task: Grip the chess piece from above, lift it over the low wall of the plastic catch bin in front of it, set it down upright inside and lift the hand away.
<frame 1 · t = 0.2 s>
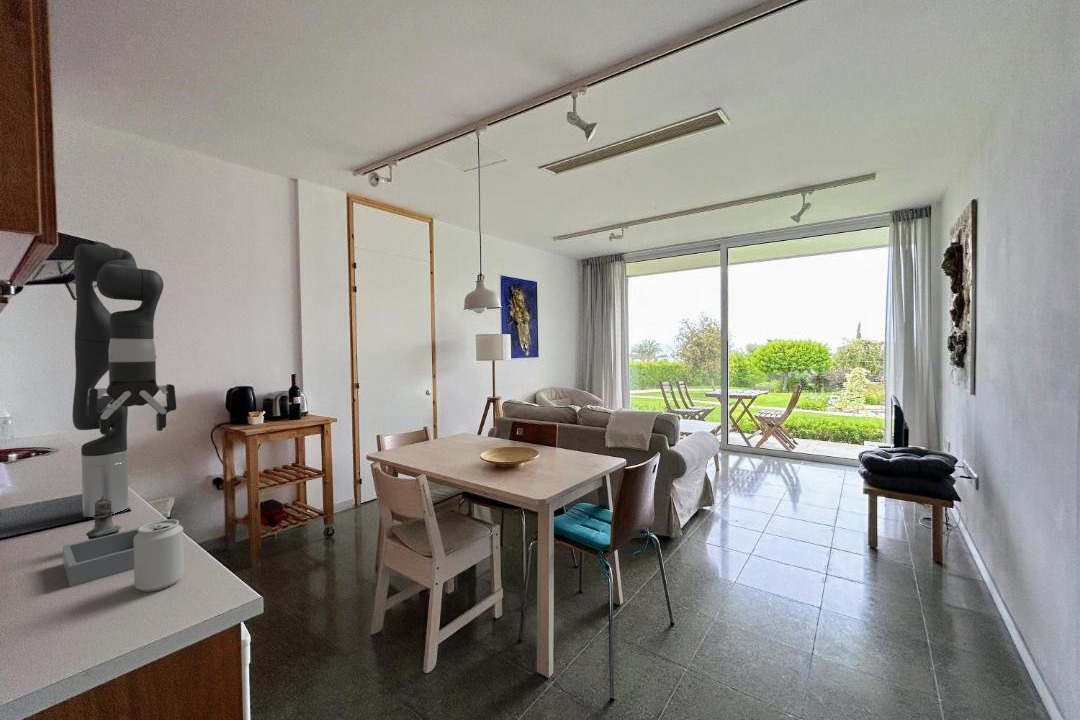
hand: (134, 433, 96), 28 cm above the kitchen counter, tool pointing down, fingers open, 8 cm apart
catch bin: (113, 562, 96), on the kitchen counter
can: (160, 584, 88), on the kitchen counter
chess piece: (104, 546, 105), on the kitchen counter
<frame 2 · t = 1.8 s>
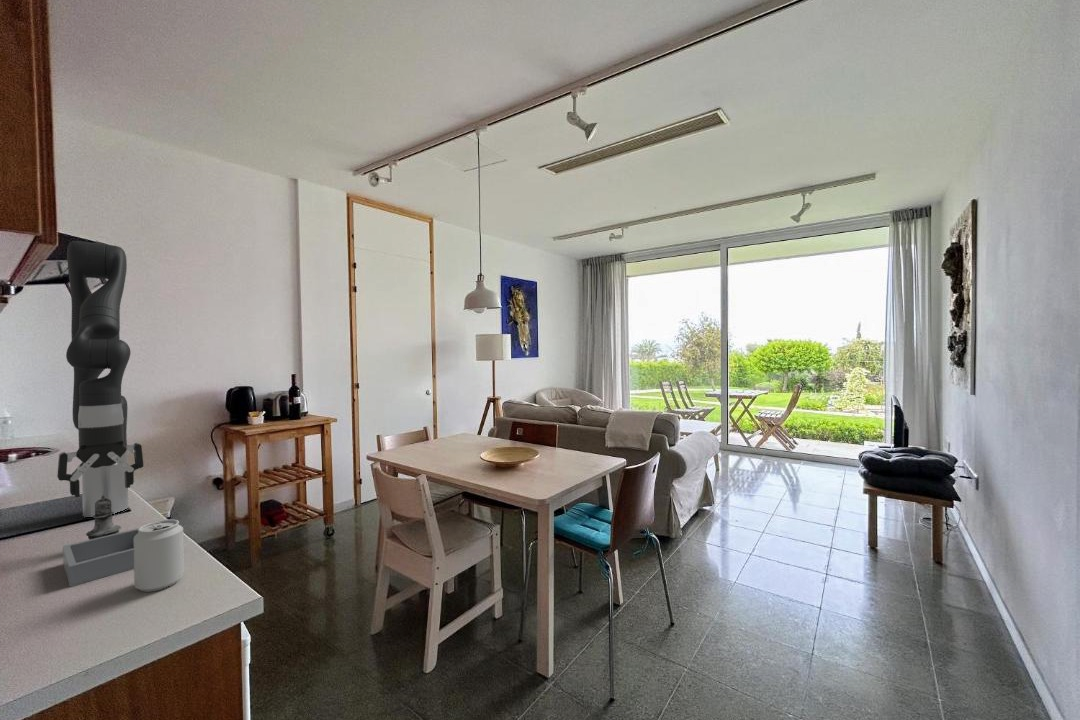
hand: (102, 491, 104), 13 cm above the kitchen counter, tool pointing down, fingers open, 8 cm apart
nothing on the kitchen counter moved.
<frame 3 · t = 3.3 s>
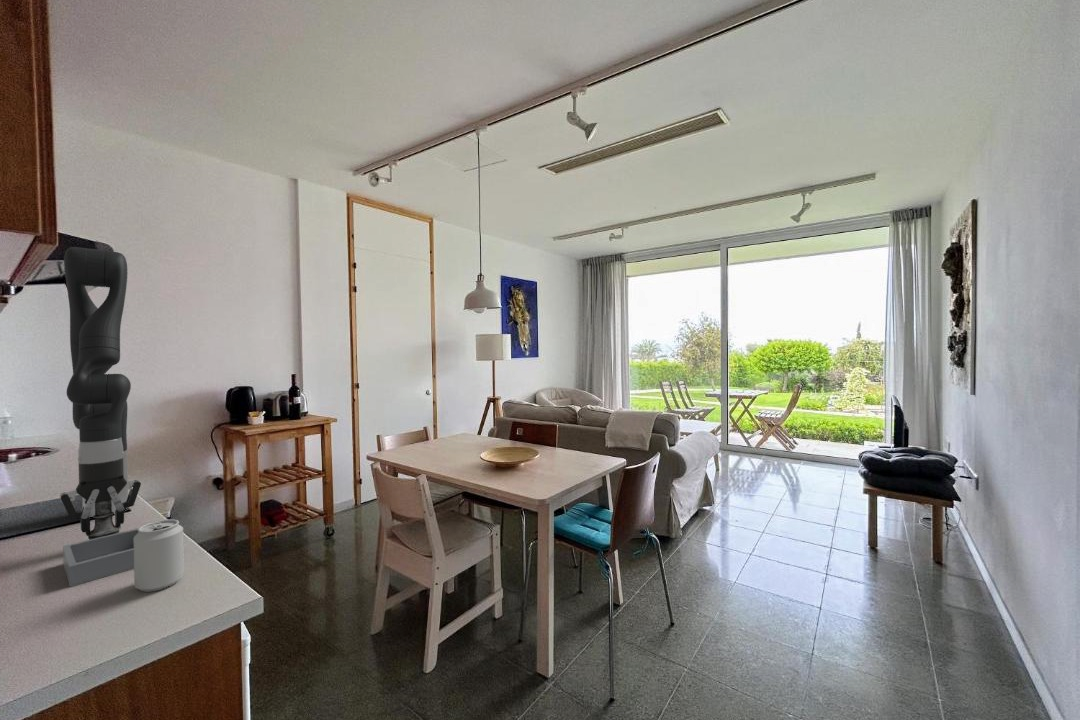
hand: (102, 529, 104), 4 cm above the kitchen counter, tool pointing down, fingers closed on chess piece, 4 cm apart
chess piece: (104, 546, 105), on the kitchen counter, touching gripper
everything else where it was.
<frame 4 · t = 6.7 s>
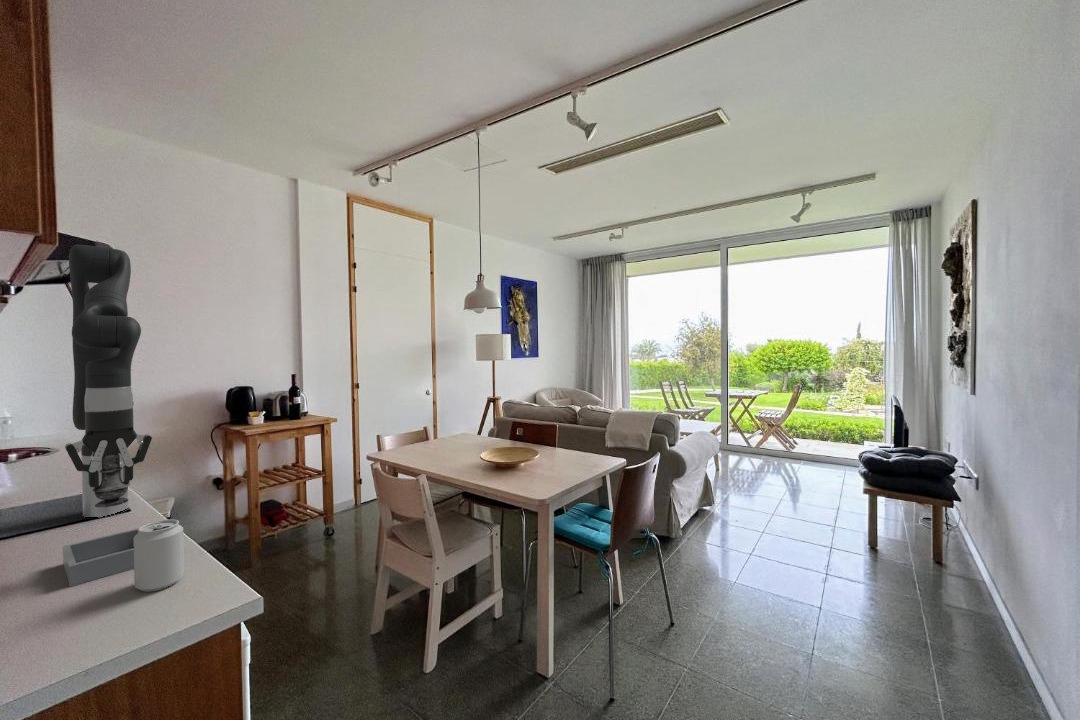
hand: (111, 485, 96), 17 cm above the kitchen counter, tool pointing down, fingers closed on chess piece, 4 cm apart
chess piece: (112, 503, 96), point 13 cm above the kitchen counter, touching gripper
everything else where it was.
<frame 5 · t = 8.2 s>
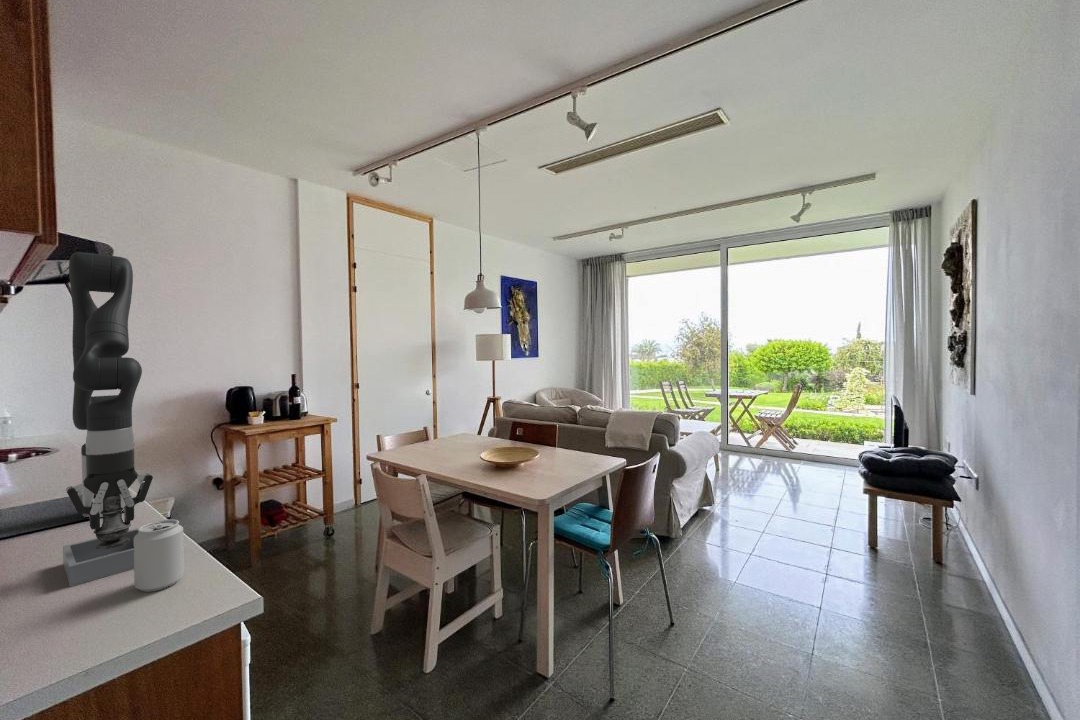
hand: (112, 526, 96), 8 cm above the kitchen counter, tool pointing down, fingers closed on chess piece, 4 cm apart
chess piece: (113, 544, 96), point 4 cm above the kitchen counter, touching gripper
everything else where it was.
when the fingers open (5 cm above the kitchen counter, at t = 9.6 s): chess piece drops 1 cm, resting in catch bin.
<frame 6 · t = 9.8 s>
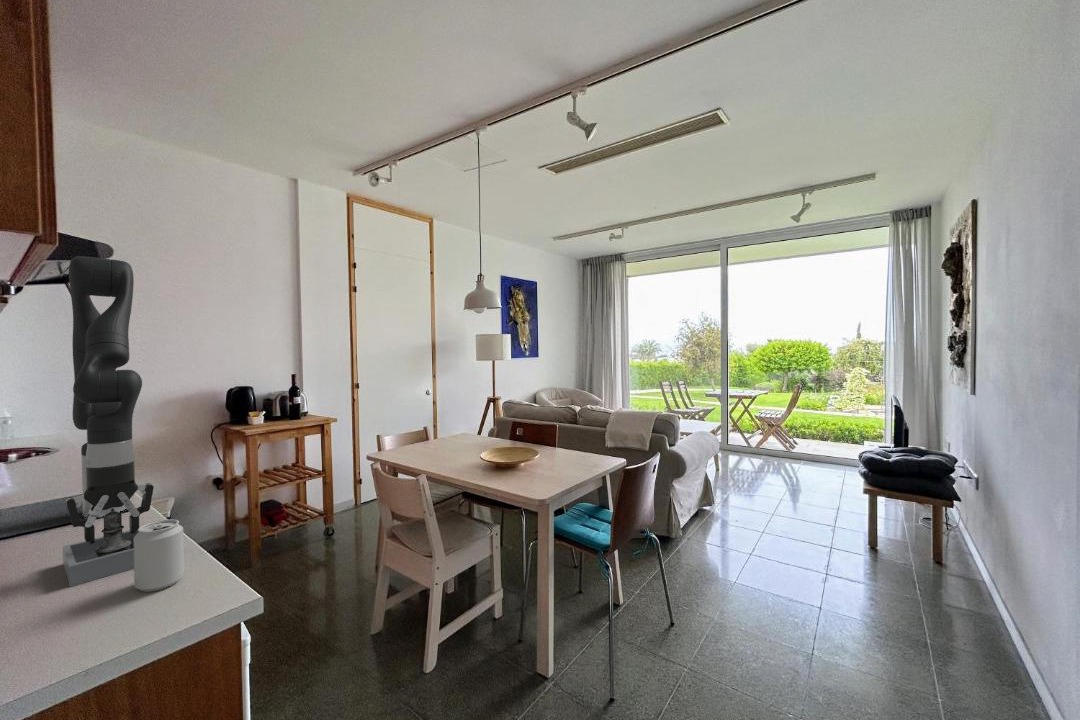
hand: (112, 537, 96), 6 cm above the kitchen counter, tool pointing down, fingers open, 6 cm apart
chess piece: (113, 562, 96), resting in catch bin
everything else where it was.
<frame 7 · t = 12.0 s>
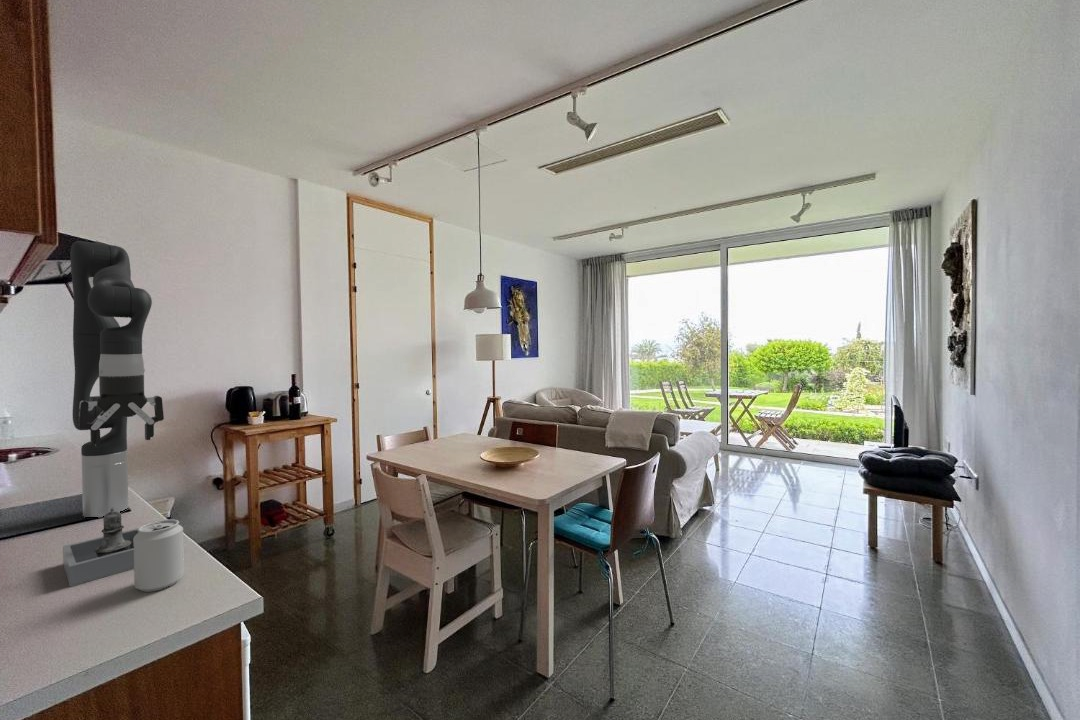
hand: (123, 442, 102), 25 cm above the kitchen counter, tool pointing down, fingers open, 8 cm apart
nothing on the kitchen counter moved.
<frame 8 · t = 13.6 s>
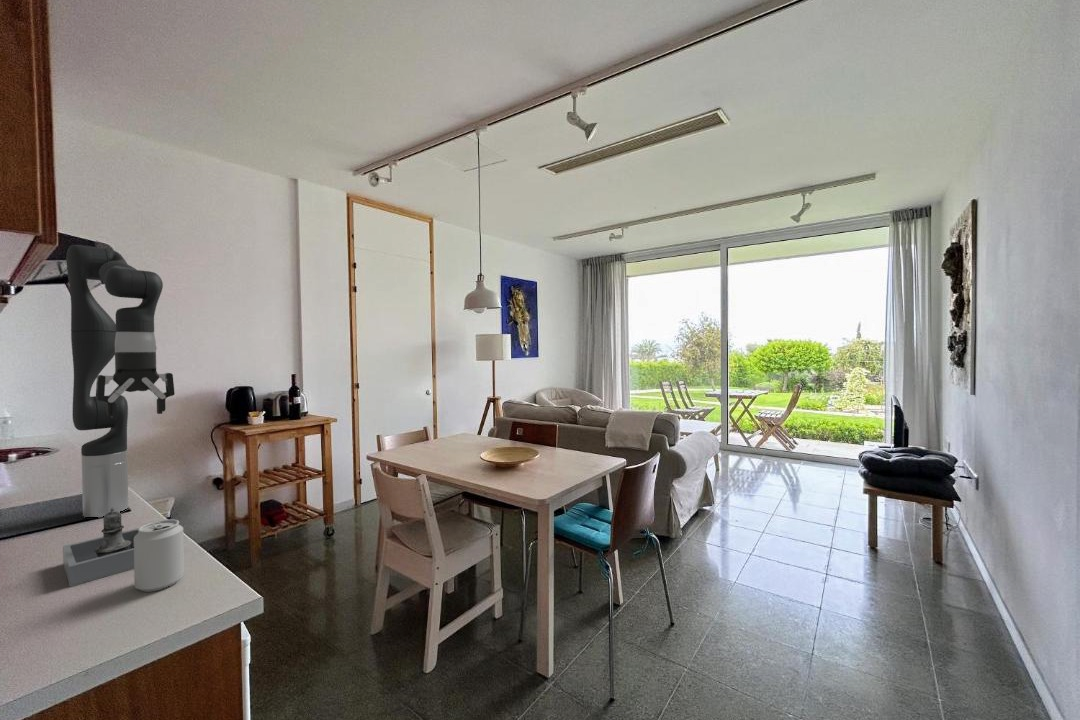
hand: (137, 415, 109), 30 cm above the kitchen counter, tool pointing down, fingers open, 8 cm apart
nothing on the kitchen counter moved.
at the end: chess piece inside the target area (0.1 cm from its centre), resting in catch bin; chess piece tilted 0° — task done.
